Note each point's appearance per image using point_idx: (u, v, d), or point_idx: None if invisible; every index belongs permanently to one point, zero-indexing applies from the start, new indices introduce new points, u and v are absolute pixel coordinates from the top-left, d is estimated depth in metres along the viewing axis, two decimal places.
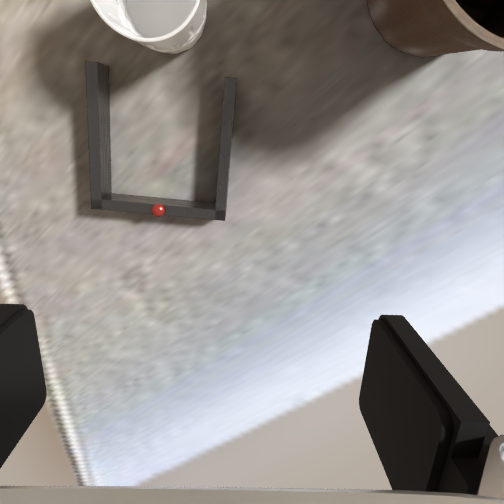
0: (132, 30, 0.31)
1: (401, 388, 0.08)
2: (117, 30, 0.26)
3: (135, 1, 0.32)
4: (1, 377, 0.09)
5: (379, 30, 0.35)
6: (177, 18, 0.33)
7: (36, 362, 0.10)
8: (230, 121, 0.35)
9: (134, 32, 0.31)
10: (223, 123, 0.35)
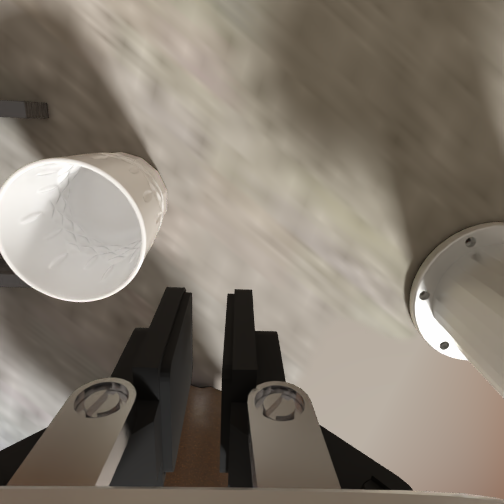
0: (61, 177, 0.24)
1: None
2: None
3: None
4: (184, 348, 0.10)
5: None
6: (108, 214, 0.28)
7: (191, 339, 0.11)
8: None
9: (59, 180, 0.24)
10: None
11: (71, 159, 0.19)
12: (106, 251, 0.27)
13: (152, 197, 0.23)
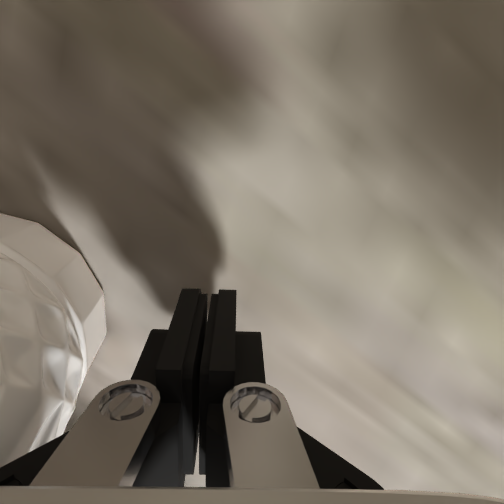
0: None
1: None
2: None
3: None
4: (202, 350, 0.10)
5: None
6: None
7: None
8: None
9: None
10: None
11: None
12: None
13: None
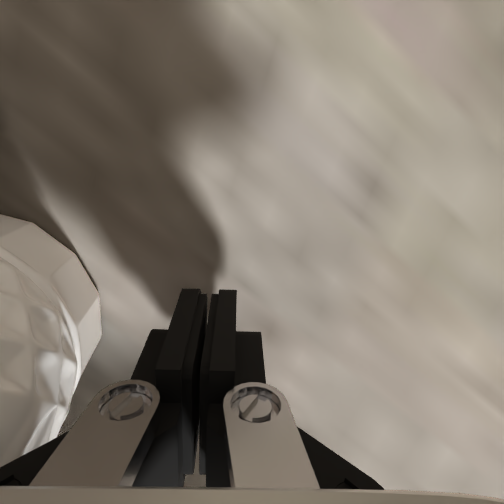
0: None
1: None
2: None
3: None
4: (201, 350, 0.10)
5: None
6: None
7: None
8: None
9: None
10: None
11: None
12: None
13: None
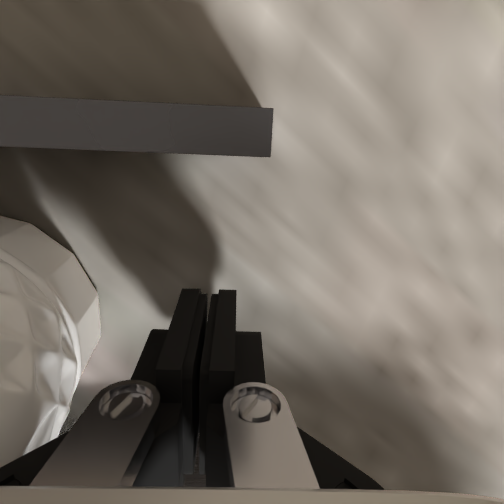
0: None
1: None
2: None
3: None
4: (202, 350, 0.10)
5: None
6: None
7: None
8: None
9: None
10: None
11: None
12: None
13: None
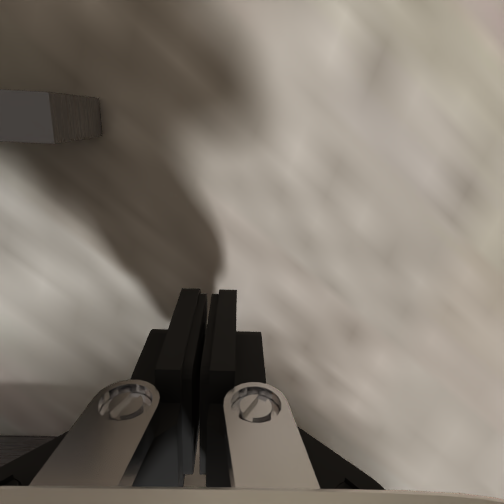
0: None
1: None
2: None
3: None
4: (201, 350, 0.10)
5: None
6: None
7: None
8: None
9: None
10: None
11: None
12: None
13: None
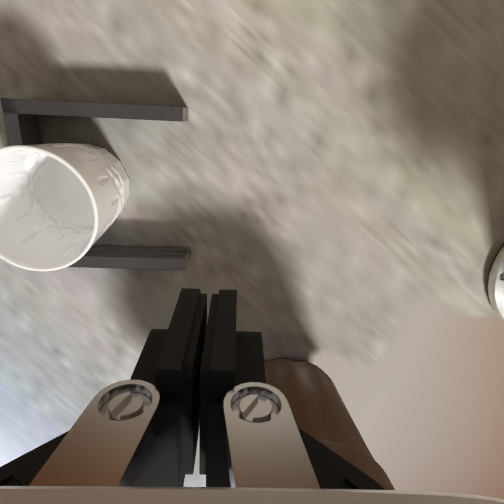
0: (29, 165, 0.27)
1: None
2: None
3: None
4: (201, 350, 0.10)
5: None
6: (75, 199, 0.31)
7: None
8: (141, 266, 0.32)
9: (27, 167, 0.28)
10: (138, 259, 0.32)
11: (30, 146, 0.22)
12: (72, 231, 0.30)
13: (108, 181, 0.27)
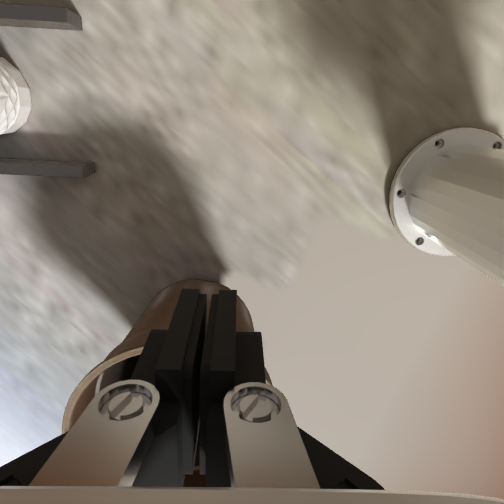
0: None
1: None
2: None
3: None
4: (201, 350, 0.10)
5: (155, 296, 0.40)
6: None
7: None
8: (40, 173, 0.33)
9: None
10: (36, 166, 0.33)
11: None
12: None
13: None
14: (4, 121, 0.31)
